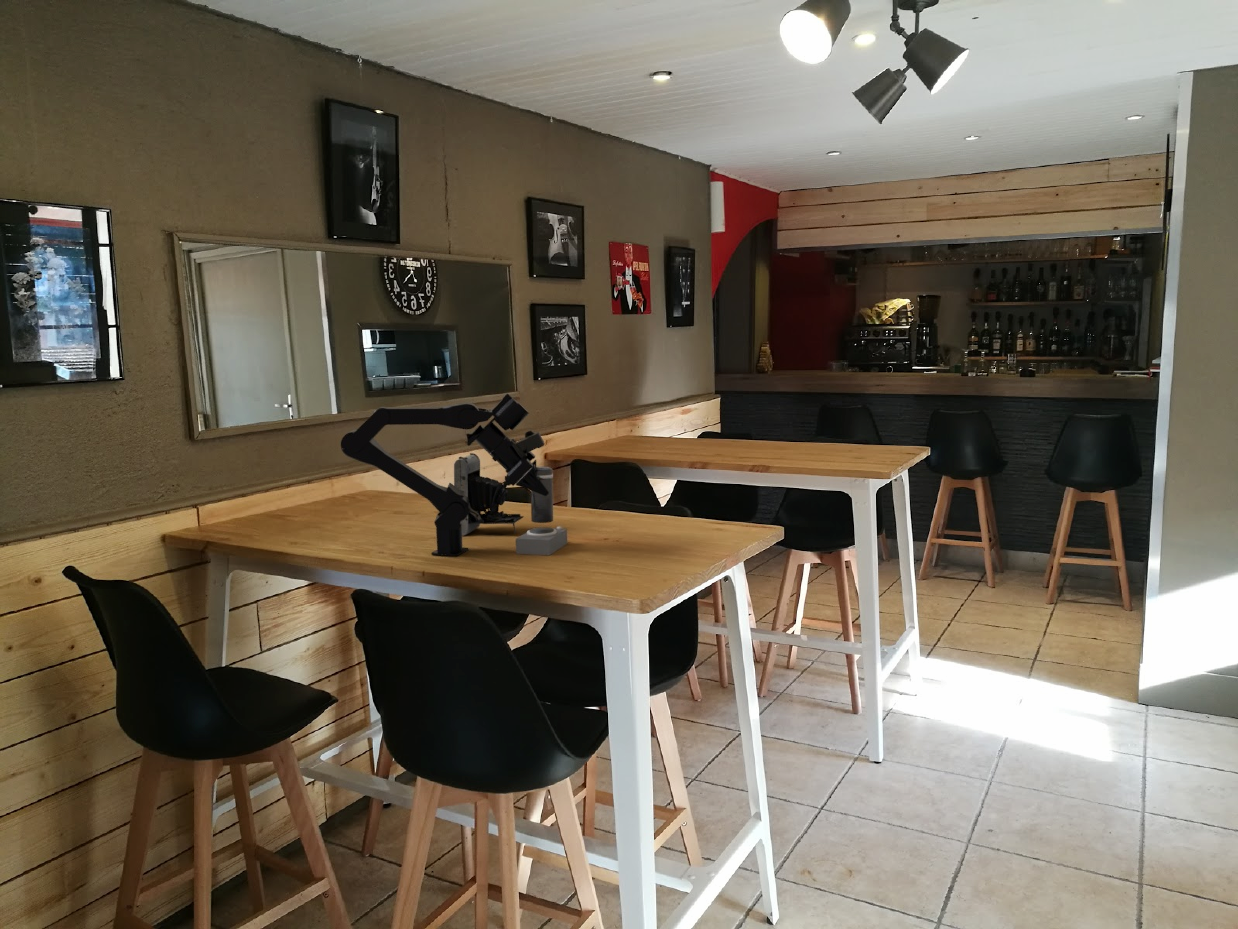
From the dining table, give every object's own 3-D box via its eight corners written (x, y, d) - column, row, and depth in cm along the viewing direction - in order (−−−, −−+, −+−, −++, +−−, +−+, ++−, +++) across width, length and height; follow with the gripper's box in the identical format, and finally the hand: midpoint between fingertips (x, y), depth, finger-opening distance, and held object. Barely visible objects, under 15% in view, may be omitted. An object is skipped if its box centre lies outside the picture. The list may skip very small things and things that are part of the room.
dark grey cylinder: (549, 523, 202) (548, 469, 200) (527, 522, 203) (526, 469, 202) (556, 519, 207) (555, 466, 205) (535, 518, 208) (534, 466, 207)
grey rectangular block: (549, 555, 199) (548, 536, 199) (516, 553, 202) (515, 534, 201) (567, 543, 211) (566, 525, 210) (535, 542, 213) (535, 524, 212)
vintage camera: (513, 539, 219) (513, 459, 216) (453, 536, 222) (452, 456, 219) (524, 531, 228) (524, 454, 226) (467, 528, 231) (467, 452, 228)
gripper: (521, 423, 192) (572, 473, 195) (525, 416, 211) (572, 462, 213) (485, 460, 193) (537, 509, 195) (492, 450, 212) (539, 495, 214)
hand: (547, 492), depth 204 cm, fingers closed on dark grey cylinder, 5 cm apart
